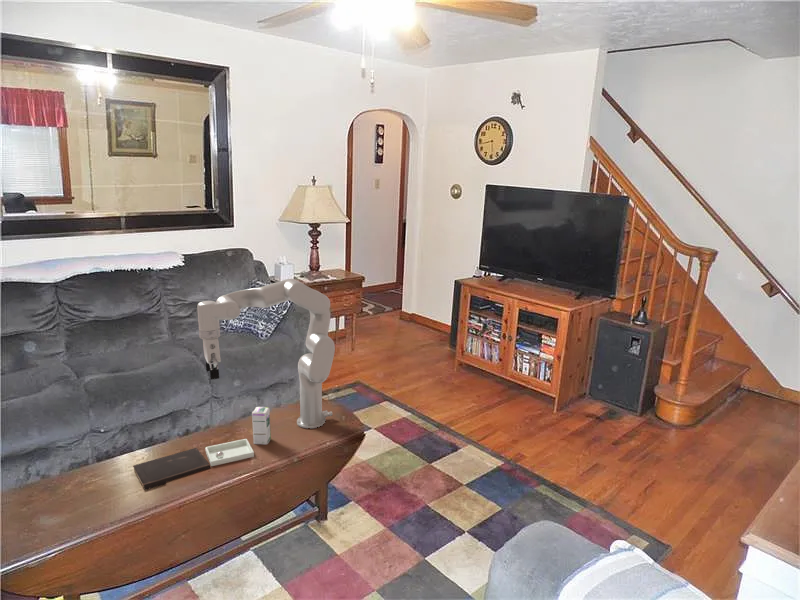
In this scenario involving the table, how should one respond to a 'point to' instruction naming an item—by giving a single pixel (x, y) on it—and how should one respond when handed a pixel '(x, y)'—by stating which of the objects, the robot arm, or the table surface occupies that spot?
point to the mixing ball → (219, 455)
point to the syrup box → (261, 425)
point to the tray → (229, 452)
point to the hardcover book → (170, 468)
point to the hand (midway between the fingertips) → (212, 374)
